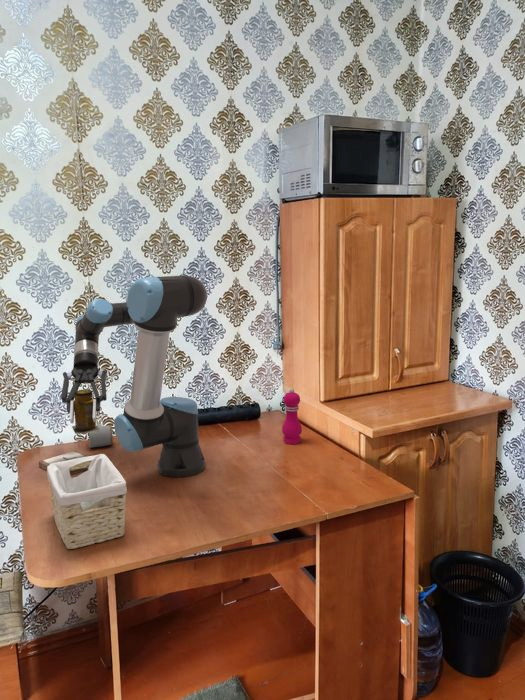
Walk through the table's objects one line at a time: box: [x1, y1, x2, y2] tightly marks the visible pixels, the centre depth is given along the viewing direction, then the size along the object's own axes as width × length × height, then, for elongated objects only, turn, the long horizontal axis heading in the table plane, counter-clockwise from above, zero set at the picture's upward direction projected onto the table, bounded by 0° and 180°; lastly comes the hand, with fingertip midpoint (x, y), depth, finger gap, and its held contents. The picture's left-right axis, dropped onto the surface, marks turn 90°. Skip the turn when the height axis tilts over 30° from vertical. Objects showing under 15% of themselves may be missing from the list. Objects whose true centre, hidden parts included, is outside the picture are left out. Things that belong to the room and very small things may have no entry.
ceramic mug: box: [88, 425, 114, 449], centre depth 205 cm, size 11×8×8 cm
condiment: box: [71, 389, 100, 435], centre depth 175 cm, size 7×8×12 cm
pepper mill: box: [281, 387, 303, 445], centre depth 204 cm, size 7×7×20 cm
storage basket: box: [46, 453, 128, 550], centre depth 146 cm, size 24×16×15 cm
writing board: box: [38, 450, 88, 476], centre depth 186 cm, size 14×13×2 cm
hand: (83, 420), depth 172 cm, fingers closed on condiment, 6 cm apart
